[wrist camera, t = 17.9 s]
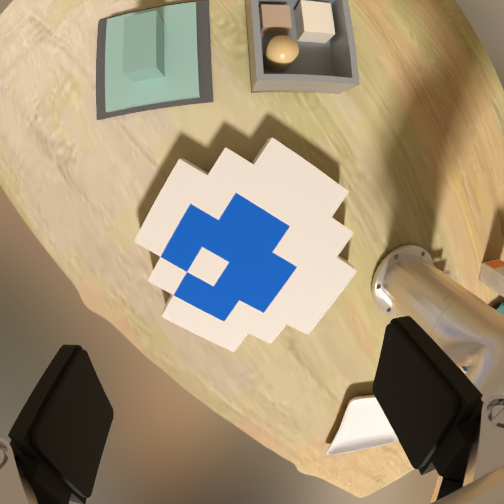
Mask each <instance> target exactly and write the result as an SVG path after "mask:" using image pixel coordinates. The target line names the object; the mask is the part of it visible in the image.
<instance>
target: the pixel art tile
mask: <svg viewBox="0 0 504 504" xmlns="http://www.w3.org/2000/svg"><path fill="white" fill-rule="evenodd" d="M347 194H348V191H347V190H346V189H344V188H343V187H342V186H340V185H339V184H338V183H336V182H335V181H334V180H332V179H331V178H330V177H328V176H327V175H326V174H324V173H323V172H322V171H320V170H319V169H317V168H316V167H315V166H313V165H312V164H310V163H309V162H308V161H306V160H305V159H303V158H302V157H301V156H299V155H298V154H296V153H295V152H293V151H292V150H290V149H289V148H287V147H286V146H284V145H283V144H281V143H280V142H278V141H277V140H275V139H274V138H268V139H267V141H266V142H265V144H264V145H263V147H262V148H261V150H260V151H259V153H258V154H257V156H256V157H255V159H254V160H253V162H252V163H250V162H249V161H247V160H246V159H244V158H242V157H241V156H239V155H238V154H236V153H234V152H233V151H231V150H229V149H228V148H226V147H225V149H224V150H223V152H222V153H221V155H220V156H219V158H218V160H217V161H216V163H215V164H214V166H213V168H212V169H211V171H210V172H209V173H208V172H206V171H204V170H203V169H201V168H199V167H198V166H196V165H194V164H193V163H191V162H189V161H187V160H186V159H184V158H181V159H179V160H178V162H177V163H176V165H175V167H174V168H173V170H172V172H171V174H170V175H169V177H168V179H167V181H166V182H165V184H164V186H163V188H162V189H161V191H160V193H159V195H158V197H157V198H156V200H155V202H154V204H153V206H152V208H151V210H150V211H149V213H148V215H147V217H146V219H145V221H144V223H143V225H142V227H141V229H140V231H139V233H138V235H137V237H136V239H135V241H134V242H136V243H137V244H139V245H141V246H142V247H144V248H146V249H148V250H149V251H151V252H153V253H154V254H156V255H158V256H160V259H159V260H158V262H157V264H156V266H155V268H154V270H153V272H152V274H151V275H150V277H149V279H148V281H149V282H150V283H152V284H154V285H156V286H157V287H159V288H161V289H163V290H165V291H167V292H168V293H170V294H171V295H170V297H169V299H168V301H167V302H166V304H165V307H164V310H163V313H162V316H161V317H163V318H165V319H167V320H169V321H171V322H173V323H175V324H176V325H178V326H180V327H182V328H184V329H186V330H188V331H190V332H192V333H194V334H196V335H198V336H201V337H203V338H205V339H207V340H209V341H211V342H213V343H215V344H217V345H219V346H222V347H224V348H226V349H228V350H230V351H233V352H234V351H235V350H236V349H237V348H238V346H239V345H240V344H241V342H242V341H243V340H244V338H245V337H246V336H247V334H248V333H249V334H251V335H253V336H255V337H257V338H259V339H261V340H263V341H266V342H268V343H270V344H271V343H272V342H273V341H274V340H275V338H276V337H277V336H278V335H279V333H280V332H281V331H282V330H283V328H284V327H285V326H286V325H289V326H291V327H293V328H295V329H297V330H299V331H301V332H303V333H305V334H307V335H308V334H309V333H310V332H311V330H312V329H313V328H314V327H315V325H316V324H317V323H318V322H319V320H320V319H321V318H322V317H323V315H324V314H325V313H326V312H327V310H328V309H329V308H330V307H331V305H332V304H333V303H334V301H335V300H336V299H337V297H338V296H339V295H340V293H341V292H342V291H343V290H344V288H345V287H346V286H347V284H348V283H349V281H350V280H351V279H352V277H353V276H354V275H355V273H356V272H357V270H356V269H355V268H354V267H353V266H352V265H351V264H350V263H349V262H348V261H346V260H345V259H343V258H342V257H340V256H339V254H340V252H341V251H342V249H343V248H344V247H345V245H346V244H347V242H348V241H349V239H350V238H351V236H352V235H353V234H354V233H353V232H352V231H350V230H349V229H348V228H346V227H345V226H344V225H342V224H341V223H339V222H338V221H337V220H335V219H334V218H332V216H333V215H334V213H335V212H336V210H337V209H338V207H339V206H340V204H341V203H342V201H343V200H344V198H345V197H346V195H347Z"/></svg>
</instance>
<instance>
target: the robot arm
mask: <svg viewBox="0 0 504 504" xmlns="http://www.w3.org/2000/svg"><path fill="white" fill-rule="evenodd" d="M372 296H373V299H374V301H375V304H376V305H377V306H378V307H379V308H380V309H381V310H382V311H383V312H385V313H386V314H390V315H399V316H400V317H399V318H394V319H392V320H391V322H390V324H388V325H387V326H386V330H385V335H384V340H383V345H382V350H381V354H380V359H379V363H378V367H377V371H376V375H375V379H374V383H373V393H374V396H375V397H376V399H377V401H378V403H379V405H380V406H381V408H382V410H383V412H384V414H385V416H386V417H387V419H388V421H389V423H390V425H391V427H392V429H393V430H394V432H395V434H396V436H397V438H398V440H399V442H400V444H401V445H402V447H403V449H404V451H405V453H406V455H407V457H408V459H409V461H410V463H411V465H412V466H413V468H415V469H419V471H420V473H421V475H423V474H425V473H428V472H430V471H432V470H434V469H436V470H437V472H438V474H439V476H438V480H437V483H436V486H435V490H434V493H433V496H432V499H431V502H430V504H504V315H503V314H501V313H500V312H498V311H497V310H495V309H494V308H492V307H491V306H489V305H488V304H486V303H485V302H484V301H482V300H481V299H480V298H478V297H477V296H475V295H474V294H473V293H471V292H470V291H468V290H467V289H466V288H464V287H463V286H461V285H460V284H459V283H457V282H456V281H454V280H453V279H451V278H450V271H449V270H444V271H441V270H439V269H438V268H436V267H435V266H434V263H433V260H432V258H431V256H430V254H429V253H428V252H427V251H426V250H425V249H423V248H421V247H419V246H417V245H404V246H401V247H398V248H396V249H395V250H393V251H392V252H390V253H389V254H388V255H387V256H386V257H385V258H384V259H383V260H382V262H381V263H380V265H379V266H378V268H377V270H376V272H375V275H374V278H373V282H372ZM458 366H470V368H469V370H468V371H467V372H466V374H464V373H463V372H462V371H461V370H460V368H459V367H458ZM112 420H113V408H112V407H111V404H110V402H109V400H108V398H107V396H106V394H105V392H104V390H103V388H102V385H101V383H100V381H99V379H98V377H97V375H96V372H95V370H94V368H93V365H92V363H91V361H90V358H89V356H88V353H87V352H86V351H85V350H83V349H82V347H81V346H79V345H63V346H62V347H61V348H60V349H59V351H58V352H57V354H56V355H55V357H54V359H53V360H52V362H51V363H50V365H49V366H48V368H47V369H46V371H45V372H44V374H43V376H42V377H41V379H40V380H39V382H38V384H37V385H36V387H35V388H34V390H33V392H32V394H31V395H30V397H29V398H28V401H27V402H26V404H25V406H24V407H23V409H22V411H21V412H20V414H19V416H18V418H17V419H16V421H15V423H14V425H13V427H12V429H11V431H10V433H9V434H8V436H9V437H10V438H11V442H10V444H9V443H8V442H7V441H6V440H5V439H3V438H0V504H69V500H70V501H73V502H77V503H81V504H85V503H86V498H88V497H90V496H91V494H92V490H93V486H94V482H95V478H96V475H97V470H98V467H99V464H100V460H101V456H102V453H103V449H104V446H105V443H106V439H107V436H108V432H109V429H110V426H111V423H112Z"/></svg>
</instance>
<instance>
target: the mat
mask: <svg viewBox="0 0 504 504" xmlns="http://www.w3.org/2000/svg"><path fill="white" fill-rule="evenodd" d="M193 2H196V4H197V41H198V66H199V87H200V98H191V99H182V100H175V101H168V102H161V103H155V104H149V105H143V106H137V107H132V108H127V109H122V110H117V111H113V112H106V106H105V45H106V26H107V19H109V18H107V19H103V20H100V21H99V23H98V37H97V58H96V107H97V120H101V119H105V118H110V117H114V116H119V115H124V114H129V113H135V112H140V111H146V110H152V109H158V108H165V107H172V106H180V105H188V104H197V103H207V102H213V92H212V72H211V51H210V25H209V0H202V1H193ZM185 3H190V2H185ZM177 4H182V3H177ZM170 5H175V4H170ZM164 6H169V5H164ZM159 7H163V6H159ZM153 8H157V7H153ZM148 9H152V8H148ZM143 10H147V9H143ZM138 11H142V10H138ZM134 12H137V11H134ZM130 13H133V12H130ZM125 14H129V13H125ZM125 14H121V15H125ZM121 15H118V16H121ZM114 17H117V16H114ZM110 18H113V17H110Z"/></svg>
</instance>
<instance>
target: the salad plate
mask: <svg viewBox="0 0 504 504" xmlns="http://www.w3.org/2000/svg"><path fill="white" fill-rule="evenodd" d="M396 441H398V438H397V436H396V434H395V432H394V430H393V429H392V427H391V425H390V423H389V421H388V419H387V417H386V416H385V414H384V412H383V410H382V408H381V406H380V405H379V403H378V401H377V399H376V397H375V396H374V395H368V396H359V397H354V398H353V399H351V400H350V401H349V403H348V406H347V408H346V411H345V414H344V417H343V420H342V422H341V425H340V427H339V429H338V431H337V433H336V435H335V437H334V439H333V441H332V443H331V444H330V446H329V448H328V450H327V452H326V454H327V455H335V454H341V453H347V452H353V451H358V450H364V449H368V448H373V447H378V446H382V445H386V444H390V443H394V442H396Z"/></svg>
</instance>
